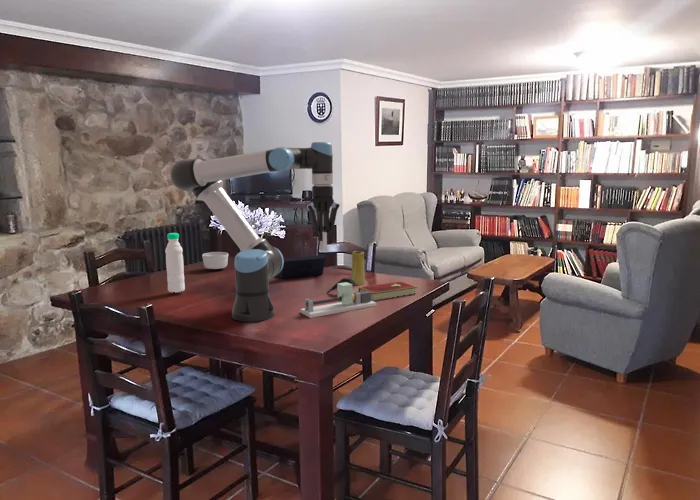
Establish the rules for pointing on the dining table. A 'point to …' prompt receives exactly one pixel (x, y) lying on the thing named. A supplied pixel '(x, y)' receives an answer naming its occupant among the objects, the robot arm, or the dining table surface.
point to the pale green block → (345, 292)
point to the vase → (358, 268)
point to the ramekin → (215, 260)
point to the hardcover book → (389, 290)
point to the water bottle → (174, 264)
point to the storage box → (302, 266)
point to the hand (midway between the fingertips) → (323, 249)
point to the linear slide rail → (337, 305)
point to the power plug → (348, 280)
